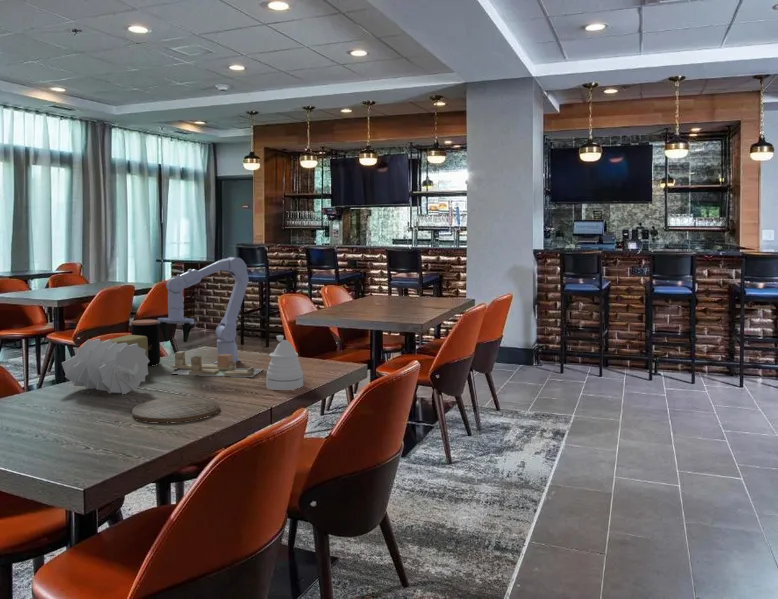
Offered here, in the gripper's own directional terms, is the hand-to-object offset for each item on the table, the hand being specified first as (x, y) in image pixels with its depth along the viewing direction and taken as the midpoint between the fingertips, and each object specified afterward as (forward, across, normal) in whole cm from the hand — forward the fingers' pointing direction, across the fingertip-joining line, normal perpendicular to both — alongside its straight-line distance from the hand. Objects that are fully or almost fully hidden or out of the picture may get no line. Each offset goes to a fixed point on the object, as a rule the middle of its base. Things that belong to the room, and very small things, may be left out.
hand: (176, 341), depth 262 cm
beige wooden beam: (+10, +13, -4) cm, 17 cm away
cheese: (+11, -12, -23) cm, 28 cm away
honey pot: (+11, +52, -26) cm, 59 cm away
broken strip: (+10, +23, -11) cm, 28 cm away
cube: (+9, +22, -4) cm, 23 cm away
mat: (+10, +20, -7) cm, 24 cm away
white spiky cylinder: (+11, -5, -42) cm, 44 cm away
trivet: (+11, +29, -63) cm, 70 cm away
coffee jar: (+11, -14, +2) cm, 18 cm away
